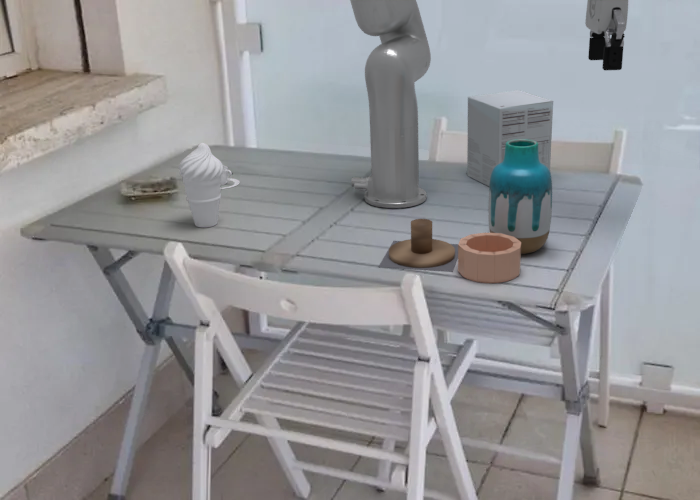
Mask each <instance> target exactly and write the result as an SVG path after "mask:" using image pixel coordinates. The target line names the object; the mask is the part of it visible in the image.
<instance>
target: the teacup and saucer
mask: <svg viewBox="0 0 700 500" xmlns="http://www.w3.org/2000/svg"><path fill="white" fill-rule="evenodd" d="M232 175H233V173H232V171H231V170H230V169H229V168H228V166H226V165H223V172H222V175H221V182H220V185H221V186H224V185H228V182H230V181H231V182H233V184H232V185H230V186H224V187H221V190H224V189H230V188H231V189H232V188H234V187H236V186H238V185H240V183H241V182H240V180H239V179H236V178H234V177H233V178H232Z"/></svg>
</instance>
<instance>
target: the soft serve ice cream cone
mask: <svg viewBox="0 0 700 500" xmlns="http://www.w3.org/2000/svg"><path fill="white" fill-rule="evenodd" d="M223 166H224V164H223V162H222V161H221V160H220V159H219V158H217V157H216V156H215V155H214V154H213V153H212V150H211V148H210V146H209V145H208V144H207V143H206V142H201V143H199V144H198V146H197V147H196V148H195V149H194V150H192V151H191V152H190V153H189V154H187V156H186V157H184V158H183V159H182V160H181V161H180V163H179V165H178V171H179V175H180V176H181V177H182V184H183V185H184V191H185V195H186V201H187V202H188V207H189V209H190V212H191V213H190V214H191V216H192V219H193V223H194V226H195V227H198V228H211V227H214V226H216V225H218V222H219V212H220V204H221V199H222V194H221V191H222V189H221V188H222V187H221V186H222V185H220V182H221V175H222V172H223Z"/></svg>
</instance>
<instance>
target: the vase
mask: <svg viewBox="0 0 700 500" xmlns="http://www.w3.org/2000/svg"><path fill="white" fill-rule="evenodd" d="M487 203H488V205H487V207H488V210H487V211H488V215H487V216H488V229H489V230H488V232H489V233H502V234H505V235H509V236H513V237H515V238H516V239H518V240H519V241H520V242H521V255H525V254H526V255H527V254H531V253H534V252H537V251H538V250H539V251H540V249H541V248H542V247H544V245H545V244H546V242H547V241H548V238H549V235H550V230H551V223H552V211H553V210H552V207H553V182H552V174H551V170H550V171H549V169H548V168H547V166H545V165H544V164H542V163H540V161H539V151H538V143H537V142H536V141H533V140H529V139H514V140H510V141H508V142H506V145H505V155H504V160H503V162H502V163H500V164H498V165H496V166H495V167H494V169H493V171H492V173H491V177H490V185H489V186H488V202H487Z"/></svg>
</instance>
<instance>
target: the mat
mask: <svg viewBox="0 0 700 500" xmlns="http://www.w3.org/2000/svg"><path fill="white" fill-rule="evenodd" d="M400 241H401V240H393V241H392V243H391V244H390V246H389V248H390V247H391V246H392V245H394V244H395V243H398V242H400ZM450 244H451V245H452V246H453V247H454V248H455V257H454V259H453V260H452V261H451V262H449V263H447V264H445V265H441V266H437V267H430V268H412V267H406V266H402V265H398V264H396V263H394V262H393V261H391V260H390V258H389V248H388V250H387V251H386V253H385V254H384V257H383V258H382V259H381V262H380V263H379V265H378V268H385V269H388V268H389V269H398V270H401V269H402V270H416V271H431V272H445V273H447V272H449V273H453V272H454V269H455V267H456V264H457V263H458V244H459V243H450Z"/></svg>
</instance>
